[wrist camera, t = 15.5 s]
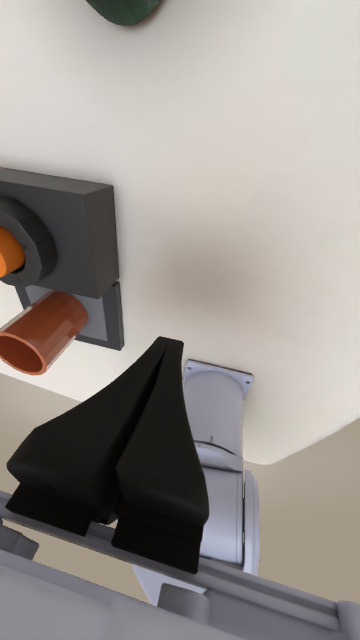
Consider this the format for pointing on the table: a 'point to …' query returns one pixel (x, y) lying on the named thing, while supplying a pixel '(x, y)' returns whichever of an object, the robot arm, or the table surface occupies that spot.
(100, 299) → the tray
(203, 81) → the table surface
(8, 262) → the button
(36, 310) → the clay cup
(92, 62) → the table surface
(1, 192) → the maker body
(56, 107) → the table surface
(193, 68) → the table surface
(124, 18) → the coffee jar
